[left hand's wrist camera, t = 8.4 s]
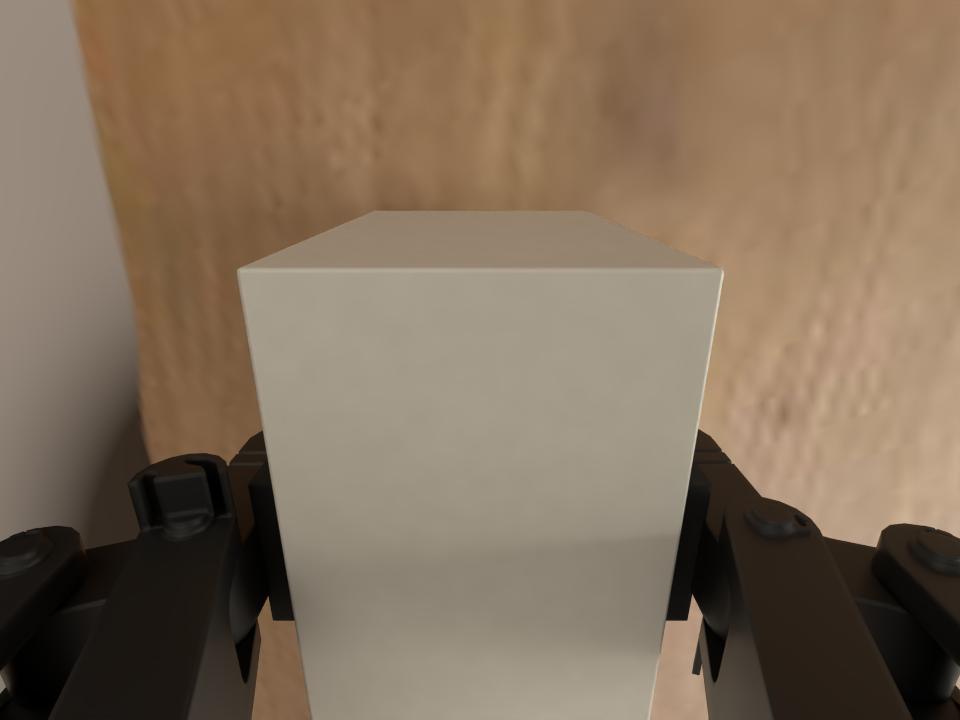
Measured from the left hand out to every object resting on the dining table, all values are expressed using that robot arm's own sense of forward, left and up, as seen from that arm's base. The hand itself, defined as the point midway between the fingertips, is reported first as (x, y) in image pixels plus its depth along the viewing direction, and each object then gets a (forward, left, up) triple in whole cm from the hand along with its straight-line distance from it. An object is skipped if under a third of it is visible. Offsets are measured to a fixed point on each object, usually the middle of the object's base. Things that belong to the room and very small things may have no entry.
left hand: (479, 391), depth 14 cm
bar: (+29, +6, -1) cm, 29 cm away
